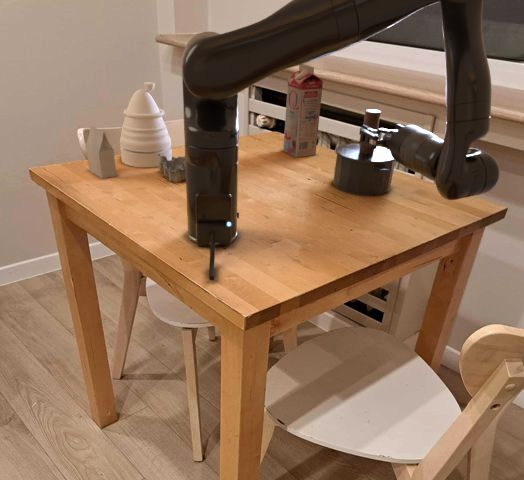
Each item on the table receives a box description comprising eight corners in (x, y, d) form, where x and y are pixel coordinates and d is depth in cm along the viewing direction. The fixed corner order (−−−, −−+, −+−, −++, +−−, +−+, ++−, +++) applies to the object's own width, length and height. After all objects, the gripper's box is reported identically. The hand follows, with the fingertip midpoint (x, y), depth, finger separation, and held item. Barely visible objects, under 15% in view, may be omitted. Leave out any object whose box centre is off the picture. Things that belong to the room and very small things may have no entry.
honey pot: (167, 151, 143) (163, 78, 132) (176, 166, 133) (172, 88, 122) (119, 153, 139) (111, 78, 129) (124, 168, 129) (116, 88, 119)
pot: (353, 201, 119) (358, 168, 114) (320, 174, 133) (323, 144, 129) (405, 197, 122) (412, 165, 118) (368, 172, 137) (373, 142, 132)
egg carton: (157, 169, 130) (156, 152, 128) (186, 167, 133) (185, 150, 130) (169, 183, 122) (168, 165, 120) (200, 180, 125) (199, 162, 123)
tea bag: (102, 178, 123) (96, 133, 117) (89, 170, 127) (83, 127, 121) (116, 175, 125) (111, 131, 119) (103, 168, 129) (98, 125, 123)
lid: (351, 167, 116) (358, 119, 110) (325, 149, 127) (330, 104, 121) (408, 164, 120) (418, 117, 114) (378, 147, 131) (386, 103, 125)
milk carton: (295, 157, 145) (302, 67, 132) (283, 150, 149) (289, 63, 136) (315, 154, 147) (324, 66, 134) (302, 148, 152) (310, 62, 139)
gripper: (452, 129, 104) (410, 110, 116) (389, 131, 100) (352, 111, 113) (443, 167, 109) (403, 145, 121) (382, 170, 105) (347, 147, 117)
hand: (379, 129), depth 117 cm, fingers open, 8 cm apart
